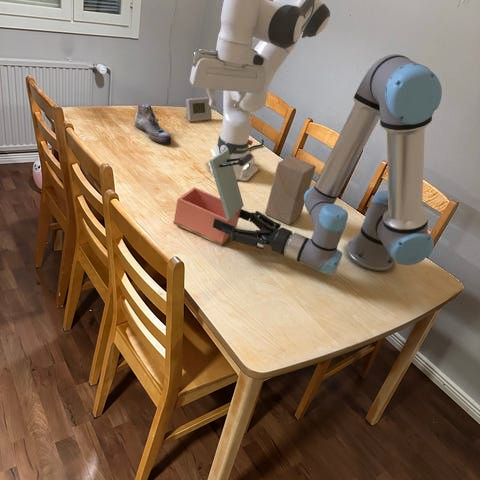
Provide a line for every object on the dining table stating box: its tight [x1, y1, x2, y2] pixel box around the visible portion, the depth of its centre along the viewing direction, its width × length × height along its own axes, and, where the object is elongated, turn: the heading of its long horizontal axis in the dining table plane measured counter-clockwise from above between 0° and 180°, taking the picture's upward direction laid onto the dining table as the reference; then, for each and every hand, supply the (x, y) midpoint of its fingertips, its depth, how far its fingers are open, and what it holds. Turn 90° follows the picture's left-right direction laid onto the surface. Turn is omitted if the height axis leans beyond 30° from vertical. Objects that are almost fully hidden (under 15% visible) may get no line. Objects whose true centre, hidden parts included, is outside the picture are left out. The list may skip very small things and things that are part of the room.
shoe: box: [134, 102, 172, 145], centre depth 194 cm, size 25×11×12 cm, turn 30°
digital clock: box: [185, 96, 213, 123], centre depth 224 cm, size 16×9×11 cm, turn 123°
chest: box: [173, 186, 242, 246], centre depth 137 cm, size 17×10×9 cm, turn 66°
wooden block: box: [264, 155, 317, 226], centre depth 152 cm, size 10×10×20 cm
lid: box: [208, 150, 252, 219], centre depth 127 cm, size 18×10×9 cm
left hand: (223, 106), depth 119 cm, fingers open, 5 cm apart
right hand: (222, 215), depth 135 cm, fingers closed on chest, 10 cm apart
